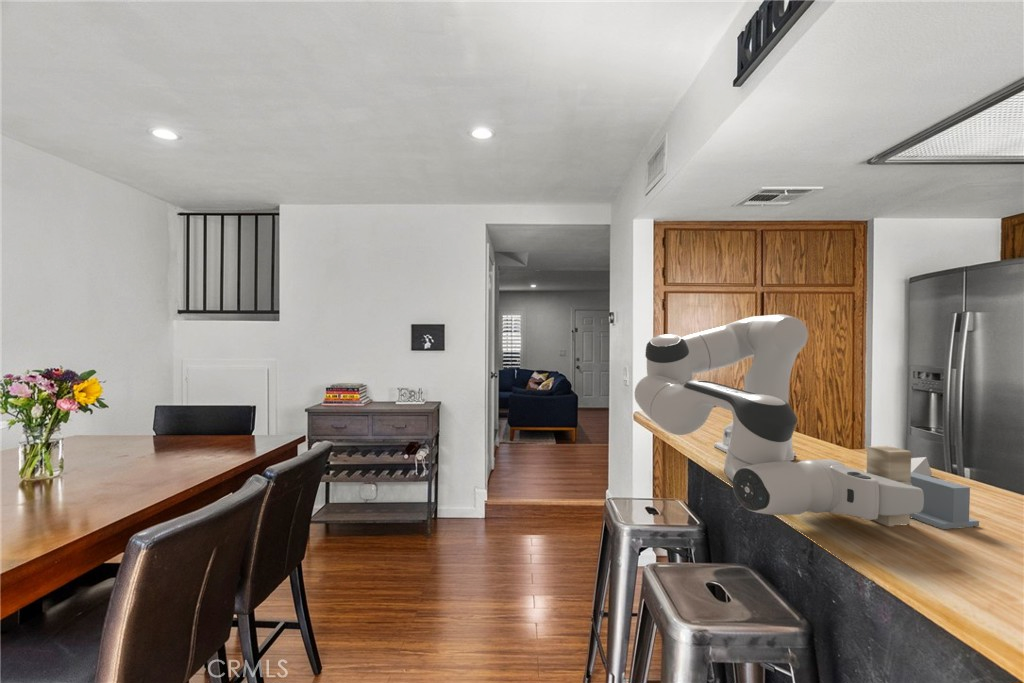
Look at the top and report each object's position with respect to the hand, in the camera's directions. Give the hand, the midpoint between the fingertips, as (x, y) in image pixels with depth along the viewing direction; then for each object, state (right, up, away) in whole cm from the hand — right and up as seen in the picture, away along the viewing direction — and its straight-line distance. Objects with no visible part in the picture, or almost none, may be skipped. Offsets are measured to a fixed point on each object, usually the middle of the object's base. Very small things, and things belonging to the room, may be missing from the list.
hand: (892, 481), depth 92 cm
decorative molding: (+17, -8, +24) cm, 31 cm away
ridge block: (+9, -7, +2) cm, 12 cm away
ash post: (-1, -7, 0) cm, 7 cm away
